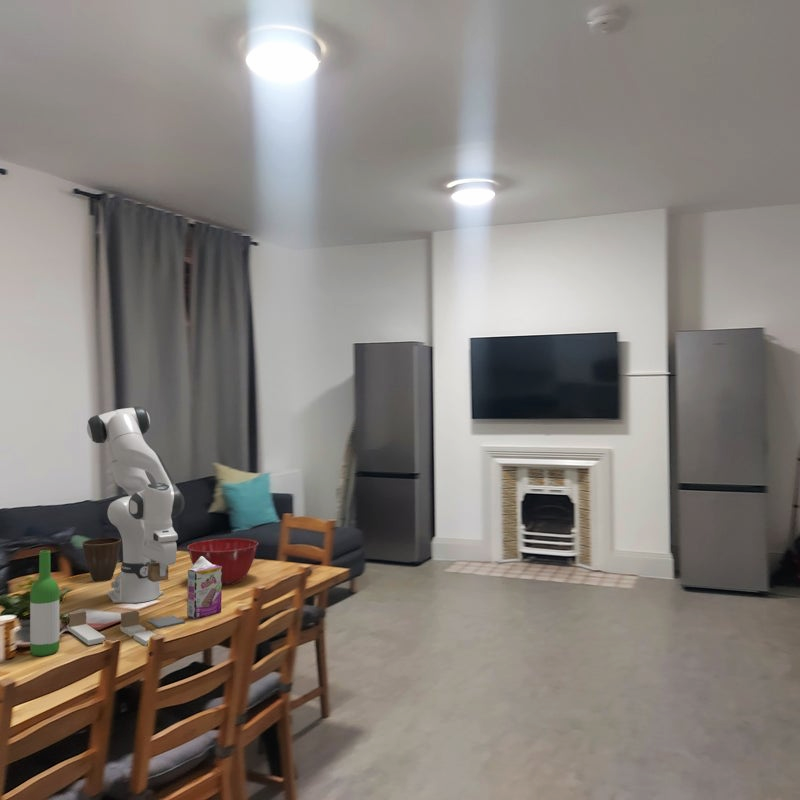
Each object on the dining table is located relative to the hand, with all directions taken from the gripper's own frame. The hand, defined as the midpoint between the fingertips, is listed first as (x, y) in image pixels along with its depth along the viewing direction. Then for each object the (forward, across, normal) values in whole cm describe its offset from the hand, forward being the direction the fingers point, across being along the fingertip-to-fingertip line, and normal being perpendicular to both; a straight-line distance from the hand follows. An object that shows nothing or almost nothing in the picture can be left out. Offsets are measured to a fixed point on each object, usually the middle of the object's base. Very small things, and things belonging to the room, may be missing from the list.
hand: (158, 574), depth 243 cm
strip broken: (+17, +8, -9) cm, 21 cm away
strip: (+17, -3, -22) cm, 28 cm away
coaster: (+17, 0, +3) cm, 17 cm away
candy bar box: (+17, 0, +17) cm, 24 cm away
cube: (+2, 0, 0) cm, 2 cm away
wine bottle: (+17, +4, -36) cm, 40 cm away
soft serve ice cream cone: (+17, -20, +26) cm, 37 cm away
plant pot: (+18, -75, +7) cm, 77 cm away
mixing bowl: (+17, -38, +43) cm, 61 cm away
